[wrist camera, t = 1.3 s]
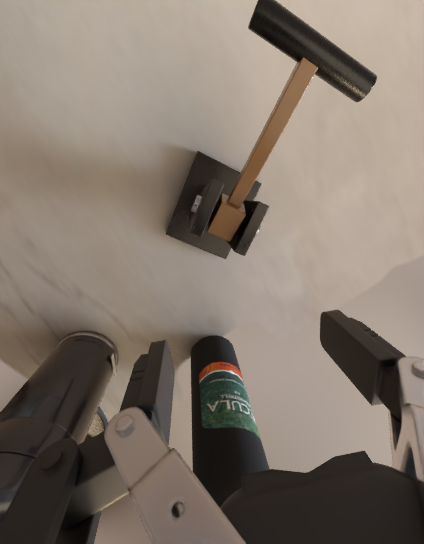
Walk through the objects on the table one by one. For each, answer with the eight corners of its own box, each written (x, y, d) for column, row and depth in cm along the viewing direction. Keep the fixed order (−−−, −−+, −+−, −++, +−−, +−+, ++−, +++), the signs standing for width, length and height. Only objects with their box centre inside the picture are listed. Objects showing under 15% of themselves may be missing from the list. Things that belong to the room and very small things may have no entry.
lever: (259, -1, 13) (265, -19, 11) (365, 77, 14) (387, 73, 13) (179, 206, 20) (174, 217, 18) (255, 241, 22) (258, 254, 20)
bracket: (197, 152, 28) (205, 117, 15) (258, 184, 30) (312, 176, 17) (166, 232, 31) (151, 260, 18) (224, 256, 33) (248, 297, 20)
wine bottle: (181, 356, 38) (162, 816, 10) (212, 327, 37) (291, 759, 9) (212, 378, 40) (270, 804, 12) (243, 351, 39) (385, 758, 11)
